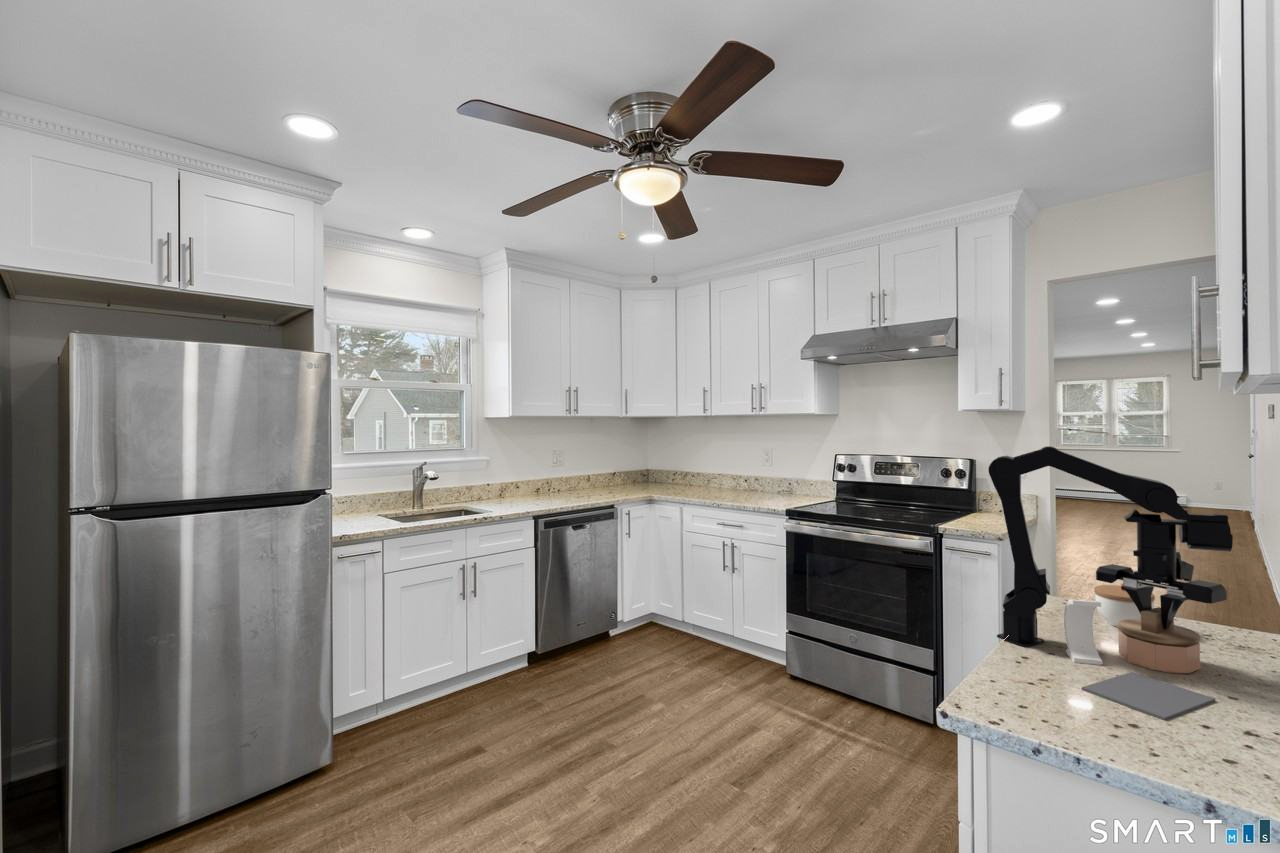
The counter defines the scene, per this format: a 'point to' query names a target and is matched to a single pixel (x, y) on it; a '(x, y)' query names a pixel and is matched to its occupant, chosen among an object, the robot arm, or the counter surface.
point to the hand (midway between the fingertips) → (1157, 626)
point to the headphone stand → (1081, 631)
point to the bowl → (1159, 654)
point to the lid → (1158, 629)
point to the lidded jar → (1116, 604)
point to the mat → (1148, 695)
